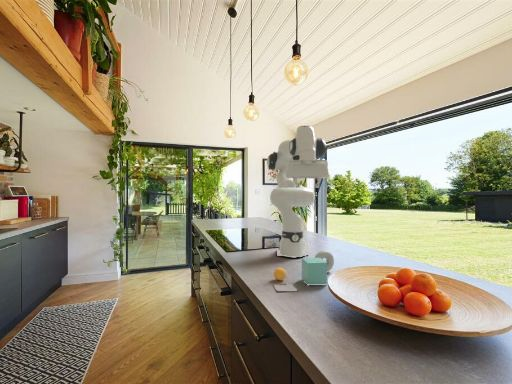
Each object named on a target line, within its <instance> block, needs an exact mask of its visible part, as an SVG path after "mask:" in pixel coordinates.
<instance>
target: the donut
mask: <svg viewBox="0 0 512 384" xmlns="http://www.w3.org/2000/svg"><path fill="white" fill-rule="evenodd" d="M314 258H321V259H322V260H324V259H325V262H327V271H328V272H330V271H331V270H332V269H333V266H334V263H335V259H334V256H333V255H332V253H331V252H330V251H328V250H323V249H322V250H320V251H319V252H317V253H316V254H315V256H314ZM329 270H330V271H329Z"/></svg>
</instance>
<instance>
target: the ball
mask: <svg viewBox="0 0 512 384" xmlns="http://www.w3.org/2000/svg"><path fill="white" fill-rule="evenodd" d="M286 276H287V271H286V270H285V269H284V268H283V267H277V268H276V269H275V270H274V271H273V277H274V279H275V280H277V281H283V280H285V279H286Z"/></svg>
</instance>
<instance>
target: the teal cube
mask: <svg viewBox="0 0 512 384" xmlns="http://www.w3.org/2000/svg"><path fill="white" fill-rule="evenodd" d="M302 279H303V280H304V281H305V282H306V283H307V284H327V285H328V272H327V262H326V260H324V259H321V258H315V257H303V258H301V280H302ZM303 280H302V281H303ZM304 281H303V282H304Z"/></svg>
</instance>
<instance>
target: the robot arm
mask: <svg viewBox="0 0 512 384" xmlns="http://www.w3.org/2000/svg"><path fill="white" fill-rule="evenodd" d="M315 135H316V134H315V131H314V127H313V126H311V125H301V126H298V127H297V129H296V135H295V137H294V138H292V139H286V140H284V141H282V142H281V143H279V145H278V149H277V151H273V153H271V154H269V155H268V157H267V159H266V165H267V168H268V169H269V170H271V171H278V172H277V174H276V184H277V188H273V189H272V190H271V192H270V194H269V198H270V199H269V200H270V202H271V204H272V205H273V207H275V208H277V209H278V211H279V213H280V215H281V219H282V230H281V231H282V232H281V239H280V241H279V242H277V243H276V247H277V249H278V250H280V254H282V255H287V256H300V255H303V254H306V253H307V244H306V240H305V239H304V231H303V218H302V216H301V214H299V213H297V212H295V211H294V210H293V208H296V207H297V208H299V207H301V208H303V207H308V206H312V205H313V204H314V203H315V200H316V195H315V192H314V191H313V189H312V188H309V187H305V186H303V185H302V184H300V183H298V179H316V181H317V183H315V184H314V188H317V189H318V188H320V183H321V181H322V179H327V178H328V177H329V176H330V174H329V168H328V166H329V165H328V161H327V160H326V159H324V158H322V157H323V156H324V155H325V153H326V152H327V143H326V141H325V140H324V139H323V138H321V137H317V138H316V136H315Z"/></svg>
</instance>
